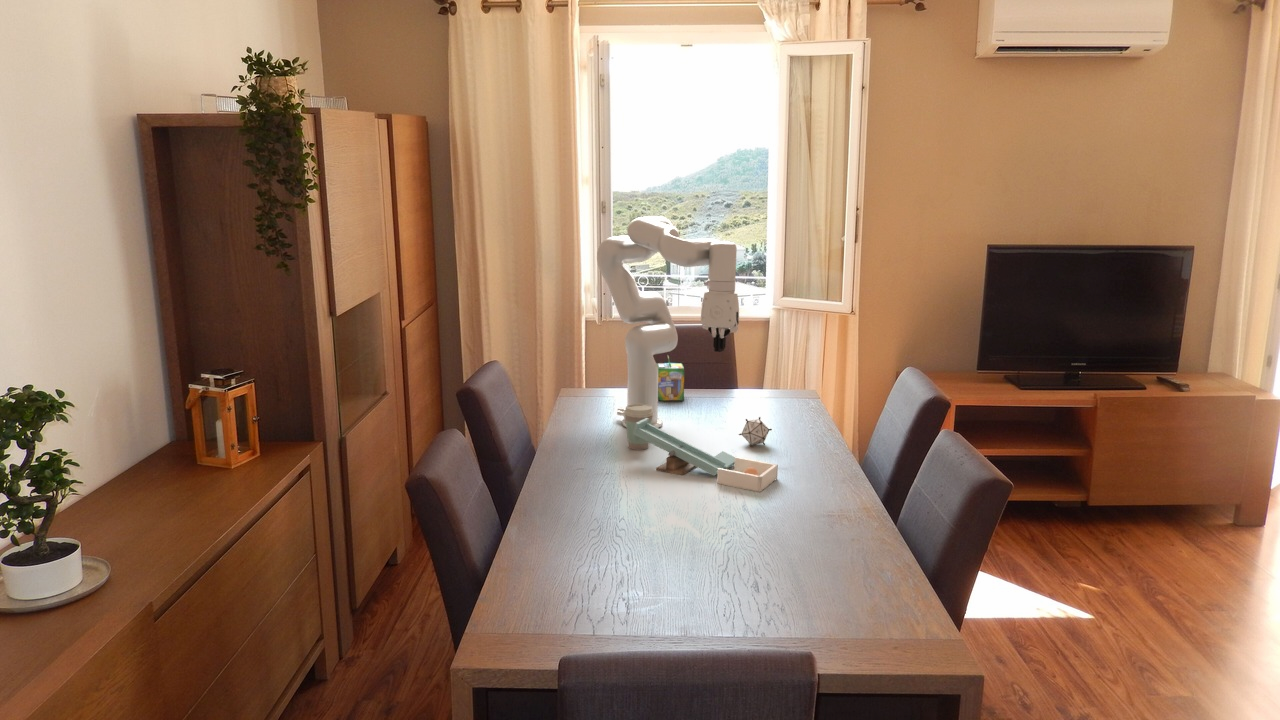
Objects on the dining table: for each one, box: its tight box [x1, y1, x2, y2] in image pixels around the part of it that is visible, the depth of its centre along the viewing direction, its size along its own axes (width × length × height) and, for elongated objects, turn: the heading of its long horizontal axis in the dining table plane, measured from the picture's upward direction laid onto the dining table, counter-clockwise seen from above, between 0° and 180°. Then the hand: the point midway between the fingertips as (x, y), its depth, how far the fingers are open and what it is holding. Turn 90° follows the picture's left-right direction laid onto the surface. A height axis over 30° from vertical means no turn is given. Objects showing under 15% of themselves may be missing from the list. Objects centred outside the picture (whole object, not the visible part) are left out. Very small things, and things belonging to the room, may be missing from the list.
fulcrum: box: [655, 455, 697, 476], centre depth 257 cm, size 8×10×4 cm
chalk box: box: [656, 354, 685, 402], centre depth 327 cm, size 9×9×15 cm
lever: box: [633, 418, 736, 477], centre depth 259 cm, size 26×16×4 cm, turn 61°
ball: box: [744, 467, 758, 476], centre depth 247 cm, size 4×4×4 cm
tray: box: [716, 456, 779, 493], centre depth 247 cm, size 12×12×4 cm
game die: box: [738, 416, 773, 448], centre depth 277 cm, size 9×8×10 cm
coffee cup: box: [624, 404, 654, 451], centre depth 273 cm, size 8×8×12 cm
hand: (719, 350), depth 267 cm, fingers closed
